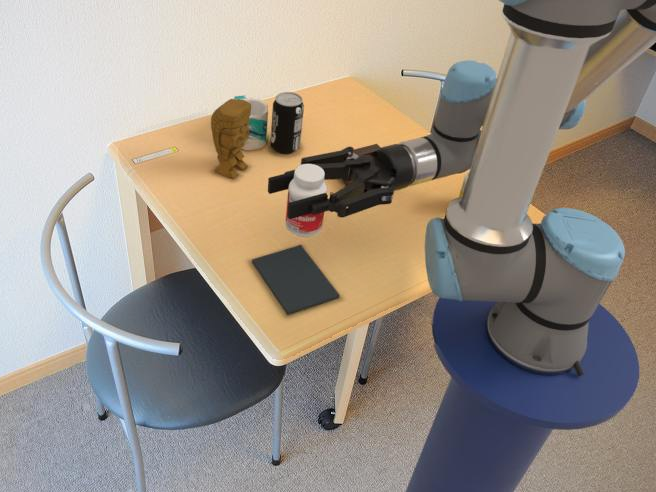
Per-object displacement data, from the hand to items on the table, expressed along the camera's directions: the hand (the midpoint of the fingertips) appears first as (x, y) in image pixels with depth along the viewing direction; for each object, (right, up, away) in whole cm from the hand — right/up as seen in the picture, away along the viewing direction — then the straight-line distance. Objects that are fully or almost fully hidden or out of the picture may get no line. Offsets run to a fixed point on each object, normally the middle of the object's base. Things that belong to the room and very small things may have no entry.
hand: (278, 198), depth 102 cm
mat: (+3, -13, +13) cm, 19 cm away
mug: (-6, +19, +46) cm, 50 cm away
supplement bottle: (+39, +1, +30) cm, 49 cm away
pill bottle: (+4, -4, +7) cm, 9 cm away
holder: (+20, +9, +37) cm, 43 cm away
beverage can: (+3, +15, +43) cm, 46 cm away
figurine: (-9, +10, +37) cm, 39 cm away
